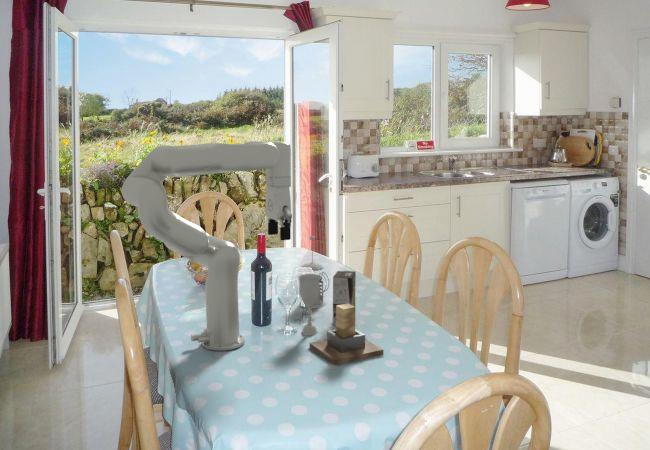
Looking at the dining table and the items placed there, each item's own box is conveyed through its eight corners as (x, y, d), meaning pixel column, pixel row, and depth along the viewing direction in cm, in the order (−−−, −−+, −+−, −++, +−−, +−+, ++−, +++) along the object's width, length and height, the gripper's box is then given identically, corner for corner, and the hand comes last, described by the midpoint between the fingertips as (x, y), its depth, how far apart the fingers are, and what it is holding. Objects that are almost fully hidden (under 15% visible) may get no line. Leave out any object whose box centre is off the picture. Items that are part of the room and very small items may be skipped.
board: (334, 365, 174) (334, 360, 174) (309, 347, 187) (309, 342, 186) (383, 354, 181) (383, 349, 181) (355, 338, 194) (356, 333, 194)
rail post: (343, 349, 181) (343, 309, 179) (336, 345, 184) (336, 305, 182) (355, 346, 183) (355, 307, 181) (347, 342, 186) (347, 303, 184)
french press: (309, 298, 235) (309, 232, 231) (335, 303, 229) (335, 235, 224) (293, 305, 228) (292, 236, 223) (319, 310, 221) (319, 240, 216)
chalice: (303, 337, 195) (303, 281, 192) (294, 331, 201) (293, 275, 198) (324, 333, 198) (324, 278, 195) (315, 327, 204) (314, 273, 201)
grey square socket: (341, 353, 178) (341, 339, 178) (327, 344, 185) (327, 331, 185) (365, 348, 182) (365, 334, 182) (350, 339, 189) (350, 326, 188)
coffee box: (351, 326, 205) (352, 278, 202) (332, 325, 206) (332, 276, 203) (356, 317, 214) (356, 270, 211) (337, 316, 215) (337, 270, 212)
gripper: (256, 180, 200) (257, 233, 203) (278, 185, 185) (278, 243, 188) (278, 178, 203) (279, 231, 206) (301, 184, 188) (301, 241, 191)
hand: (279, 237), depth 197 cm, fingers open, 9 cm apart
